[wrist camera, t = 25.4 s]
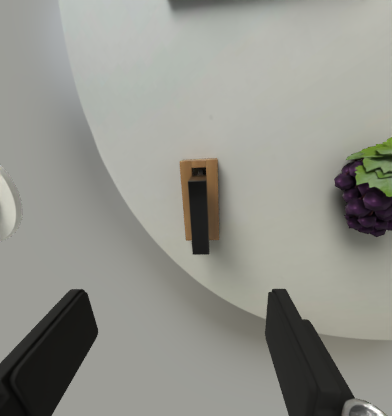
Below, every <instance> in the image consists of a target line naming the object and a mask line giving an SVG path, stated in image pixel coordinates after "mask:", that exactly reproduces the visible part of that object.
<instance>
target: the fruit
mask: <svg viewBox="0 0 392 416" xmlns="http://www.w3.org/2000/svg"><path fill="white" fill-rule="evenodd" d="M351 155H352V156H349V157H347V159H346V160H350V159H355V161H354V162H352V163H349V164H347V165H346V166H345V167H344V168H343V169H342V173H341V174H339V175H338V176H337V177H336V178H335V179H334V180H335V186H336V187H338V188H339V189H341V190H344V193H343V196H342V197H343V199H344V200H345V201H346V203H348V204H347V205H345V206H346V207H345V211H346V215H344V216H345V218H346V219H347V224H348V226H349V228H354V229H355V230H358V231H359V232H362V233H366V234H369V233H370V234H371V235H373V236H375V237H378V236H382V235H384V234H385V232H386V230H392V137H391V138H389V139H387V142H383V144H376V146H373V147H368V148H367V149H363V150H362V151H360V152H358V153H354V154H351ZM357 160H361V161H357Z"/></svg>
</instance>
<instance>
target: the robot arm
mask: <svg viewBox="0 0 392 416" xmlns="http://www.w3.org/2000/svg"><path fill="white" fill-rule="evenodd" d="M97 335H98V328H97V325H96V321H95V318H94V315H93V311H92V308H91V304H90V301H89V298H88V294H87V293H86V292H85V291H84V290H83V289H72V290H70V291H69V292H68V293H67V294H66V295H65V296H64V297H63V298H62V299H61V300H60V301H59V302H58V303H57V304H56V305H55V306H54V307H53V309H51V310H50V311H49V313H48V314H47V315H46V316H45V317H44V318H43V319H42V320H41V321H40V322H39V323H38V324H37V325H36V326H35V327H34V328H33V329H32V330H31V332H30V333H29V334H28V335H27V336H26V337H25V338H24V339H23V340H22V341H21V342H20V343H19V344H18V345H17V346H16V347H15V348H14V349H13V351H12V352H11V353H10V354H9V355H8V356H7V357H6V358H5V359H4V360H3V361H2V362H1V363H0V416H52V414H53V412H54V410H55V408H56V407H57V405H58V403H59V402H60V400H61V398H62V396H63V395H64V393H65V391H66V389H67V388H68V386H69V384H70V383H71V381H72V379H73V377H74V376H75V374H76V372H77V370H78V369H79V367H80V365H81V363H82V362H83V360H84V358H85V356H86V355H87V353H88V351H89V350H90V348H91V346H92V344H93V343H94V341H95V339H96V337H97ZM265 336H266V341H267V344H268V347H269V351H270V354H271V357H272V361H273V364H274V368H275V371H276V374H277V378H278V381H279V384H280V388H281V391H282V394H283V398H284V401H285V404H286V408H287V411H288V414H289V416H387V415H386V414H385V413H384V412H383V411H381V410H380V409H379V408H377V407H376V406H374V405H372V404H371V403H369V402H367V401H364V400H360V399H355V397H354V396H353V394H352V392H351V390H350V389H349V387H348V385H347V384H346V382H345V380H344V378H343V377H342V375H341V373H340V372H339V370H338V368H337V366H336V365H335V363H334V361H333V359H332V358H331V356H330V354H329V353H328V351H327V349H326V348H325V346H324V344H323V342H322V341H321V339H320V337H319V336H318V334H317V332H316V330H315V329H314V327H313V325H312V324H311V322H310V321H309V320H305V319H302V318H301V316H300V315H299V313H298V311H297V309H296V307H295V305H294V303H293V302H292V300H291V298H290V296H289V294H288V292H287V291H286V289H273V290H272V292H269V293H268V304H267V317H266V329H265Z"/></svg>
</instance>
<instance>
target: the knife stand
mask: <svg viewBox="0 0 392 416" xmlns="http://www.w3.org/2000/svg"><path fill="white" fill-rule="evenodd" d="M202 167H206V175H207V188H208V215H209V240H219V209H218V160H217V158H209V159H190V160H181V161H180V173H181V185H182V197H183V210H184V222H185V235H186V240H192V235H191V221H190V206H189V192H188V180H189V179H190V177H191V176H192V175H194V173H193V168H202Z"/></svg>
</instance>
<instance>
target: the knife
mask: <svg viewBox="0 0 392 416" xmlns="http://www.w3.org/2000/svg"><path fill="white" fill-rule="evenodd" d="M188 192H189V206H190V221H191V235H192V249H193V254H209V215H208V188H207V175H203V170H199V172H198V175H192V176H191V177H190V179H189V180H188Z"/></svg>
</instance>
